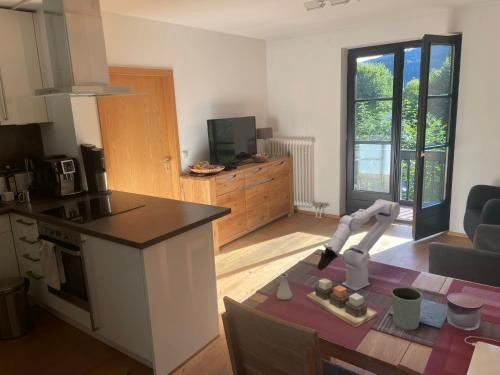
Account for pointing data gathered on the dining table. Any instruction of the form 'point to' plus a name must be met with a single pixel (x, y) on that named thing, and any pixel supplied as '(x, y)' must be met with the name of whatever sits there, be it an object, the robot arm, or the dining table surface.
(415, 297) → the green cylindrical pot
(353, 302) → the grey button
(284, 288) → the flask
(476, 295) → the dining table surface
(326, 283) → the offwhite button
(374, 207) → the robot arm
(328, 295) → the button panel
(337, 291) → the terracotta button
